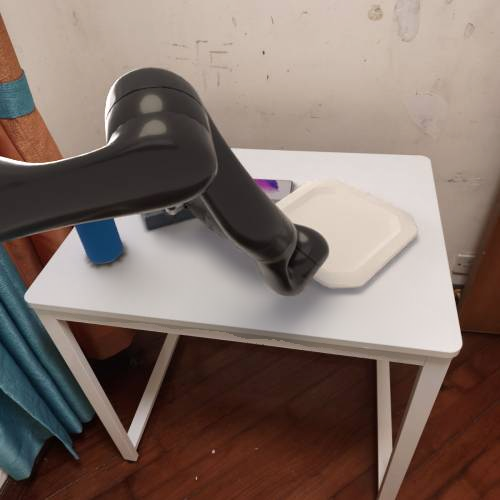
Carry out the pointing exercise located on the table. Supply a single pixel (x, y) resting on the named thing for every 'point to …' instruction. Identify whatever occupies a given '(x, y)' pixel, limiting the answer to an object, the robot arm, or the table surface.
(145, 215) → the tray
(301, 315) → the table surface
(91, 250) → the beverage can
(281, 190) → the smartphone
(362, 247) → the plate
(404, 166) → the table surface
